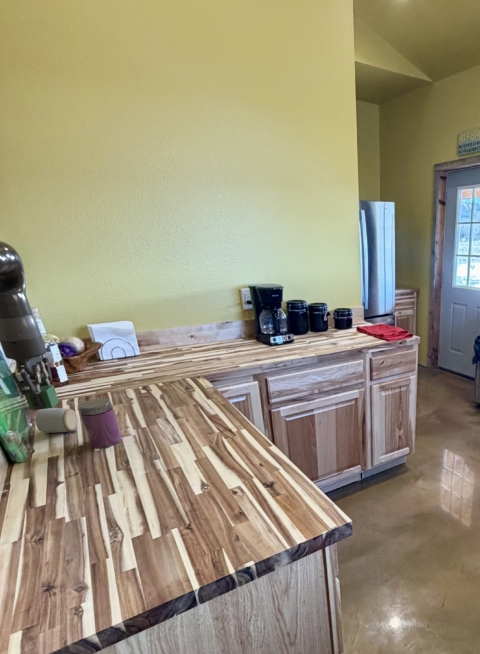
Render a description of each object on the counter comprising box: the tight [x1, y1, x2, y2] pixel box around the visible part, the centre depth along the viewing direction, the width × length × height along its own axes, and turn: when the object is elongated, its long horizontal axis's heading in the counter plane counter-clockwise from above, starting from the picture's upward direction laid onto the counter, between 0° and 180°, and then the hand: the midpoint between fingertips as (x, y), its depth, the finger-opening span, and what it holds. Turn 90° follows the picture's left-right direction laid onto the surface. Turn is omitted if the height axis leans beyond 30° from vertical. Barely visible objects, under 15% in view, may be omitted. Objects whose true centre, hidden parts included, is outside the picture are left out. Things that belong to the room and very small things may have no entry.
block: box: [24, 384, 60, 411], centre depth 101 cm, size 4×4×4 cm
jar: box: [79, 406, 123, 449], centre depth 119 cm, size 8×8×12 cm
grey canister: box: [35, 407, 80, 434], centre depth 128 cm, size 11×8×8 cm
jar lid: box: [78, 398, 113, 415], centre depth 117 cm, size 8×8×2 cm
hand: (44, 404), depth 102 cm, fingers closed on block, 4 cm apart
